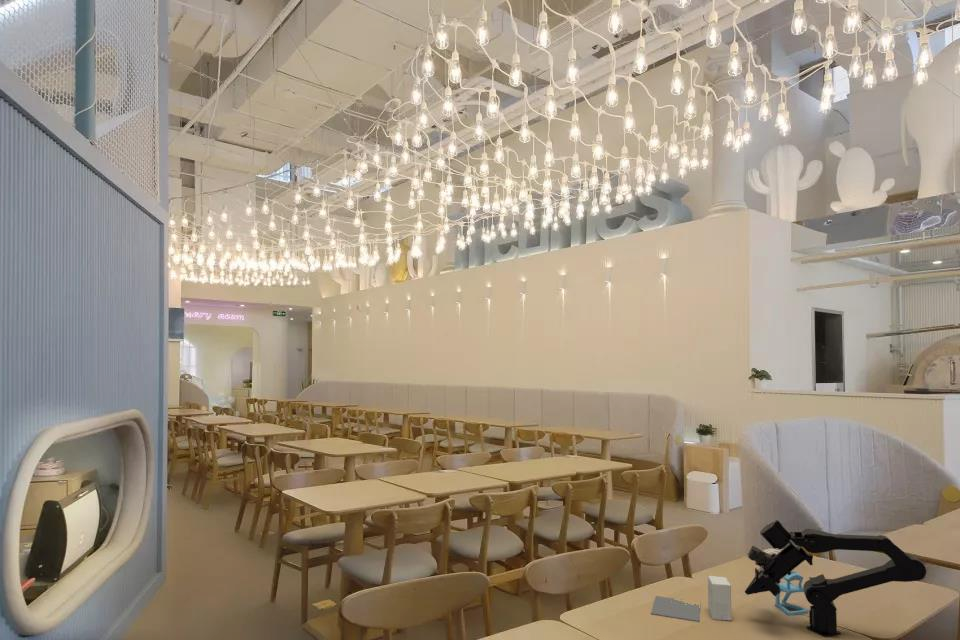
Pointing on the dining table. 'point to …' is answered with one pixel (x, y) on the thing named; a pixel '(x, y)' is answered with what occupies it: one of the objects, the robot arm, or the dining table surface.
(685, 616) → the mat
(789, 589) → the chair
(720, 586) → the small box
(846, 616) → the dining table surface
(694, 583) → the dining table surface
